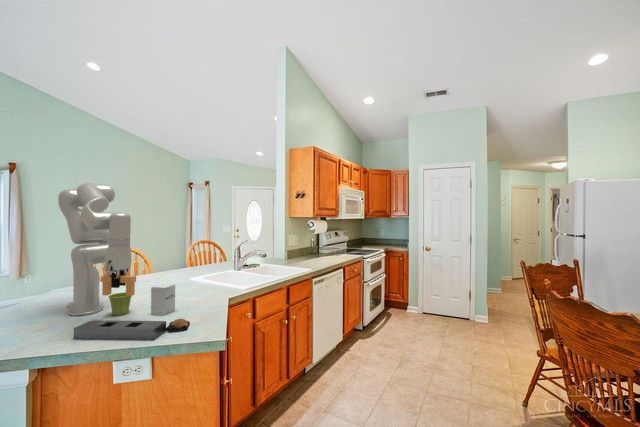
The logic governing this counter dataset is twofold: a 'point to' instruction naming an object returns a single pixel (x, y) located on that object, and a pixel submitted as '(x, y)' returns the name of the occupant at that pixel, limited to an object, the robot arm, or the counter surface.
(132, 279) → the light wooden bench shape
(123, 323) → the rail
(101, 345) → the counter surface
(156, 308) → the supplement box
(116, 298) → the plant pot
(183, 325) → the toy turtle
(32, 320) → the counter surface
